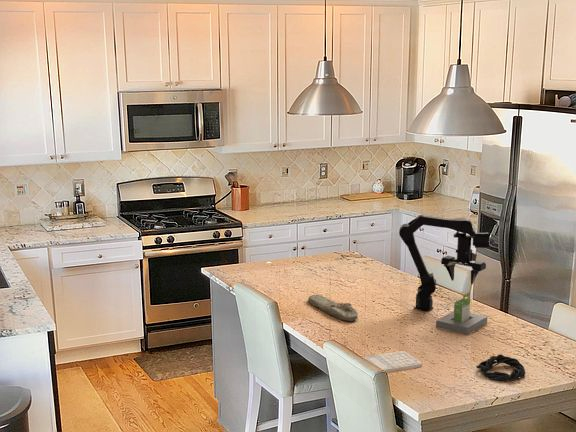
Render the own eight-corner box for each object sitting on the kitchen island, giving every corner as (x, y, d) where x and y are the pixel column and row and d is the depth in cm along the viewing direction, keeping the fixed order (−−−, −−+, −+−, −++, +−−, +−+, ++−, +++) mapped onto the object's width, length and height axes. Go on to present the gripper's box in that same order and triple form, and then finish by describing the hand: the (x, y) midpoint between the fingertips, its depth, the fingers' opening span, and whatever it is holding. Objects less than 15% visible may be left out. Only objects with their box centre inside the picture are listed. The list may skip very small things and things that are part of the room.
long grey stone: (321, 301, 342) (302, 306, 337) (320, 290, 341) (301, 294, 336) (364, 319, 311) (345, 324, 307) (364, 307, 310) (344, 312, 306)
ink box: (460, 320, 309) (462, 290, 307) (469, 322, 307) (471, 291, 304) (452, 325, 304) (454, 293, 301) (461, 327, 301) (463, 295, 299)
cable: (506, 362, 268) (507, 350, 267) (537, 375, 256) (537, 363, 255) (471, 371, 260) (472, 359, 259) (501, 385, 248) (501, 373, 247)
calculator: (423, 367, 263) (423, 362, 263) (373, 375, 256) (373, 370, 256) (404, 354, 275) (404, 349, 275) (355, 362, 268) (356, 357, 268)
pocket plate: (435, 327, 303) (436, 320, 303) (456, 316, 317) (456, 309, 316) (467, 335, 294) (467, 327, 294) (486, 323, 308) (487, 316, 307)
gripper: (492, 247, 319) (490, 282, 322) (453, 241, 330) (451, 274, 333) (481, 252, 310) (479, 287, 313) (441, 245, 322) (439, 280, 325)
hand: (462, 282), depth 321 cm, fingers open, 9 cm apart
